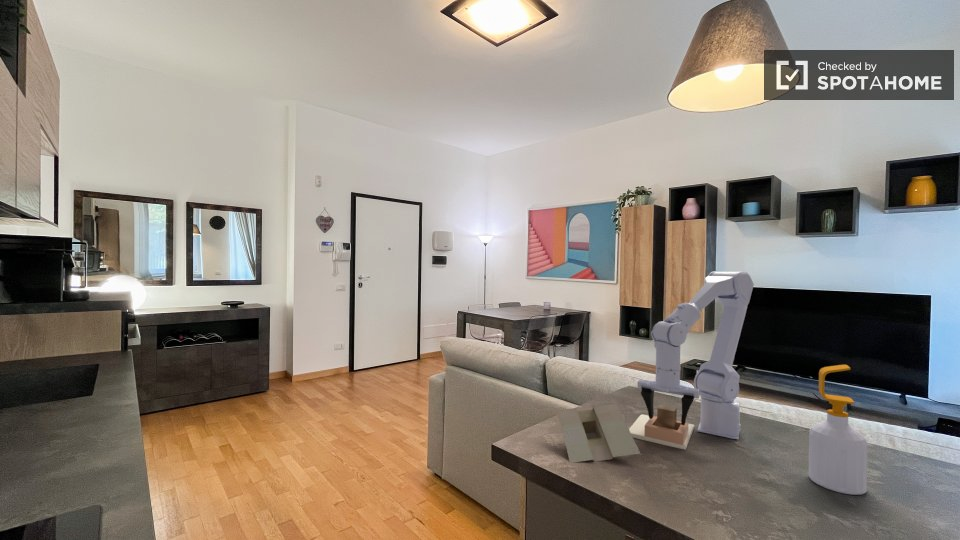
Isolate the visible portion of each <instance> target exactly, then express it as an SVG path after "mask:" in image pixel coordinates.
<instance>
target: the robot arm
mask: <svg viewBox="0 0 960 540" xmlns="http://www.w3.org/2000/svg"><path fill="white" fill-rule="evenodd" d="M703 283H704V284H703V285H702V286H701V287H700V289H699V290H698V291H697V292H696V293H695V295H694V296H692V299H690V301H689V302H682V303H679V304H678V305H677V307H676V308H675V309H674V310H673V311H672V312H671V313H670V314H669V315H668V316H666V318H665V319H664V320H663V321H662V320H661V321H658V322H657V323H655V324H654V326H653V327H652V331H651V332H650V336H651V339H652V340H653V343H654V348H655V381H652V380H644V379H643V380H640V379H639V380H638V381H637V382H636V383H637V387H636V389H639V390H641V391H640V395H641V397H642V399H643V401H644V402H645V403H644V404H645V406H646V409H647V415H648V416H649V418H650V419H652V418H653V416H655V415H654V414H655V413H654V399H655V398H654V396H655V392H661V393H666V394H672V395H678V396H682V397H681V420H680V421H681V425H685V422H687V421H686V420H687V417H688V413H689V409H690V407H691V405H692V404H693V402H694V400H695V399H700V419H699V420H700V421H699V423H698V427H697V432H700V433H703V434H704V433H705V434H708V435H714V436H719V437H724V438H727V439H728V438H729V439H732V440H733V439H734V440H740V439H739V437H740V431H741V429H742V428H741V427H742V426H741V425H742V424H741V423H740V413H741V411H740V408H741V404H740V402H739V401H735V400H736V399H737V397H738V396H739V392H740V384H739V383H740V377H741V376H740V374H739V373H738V372H737V371H736V370H735V369H734V367H733V364H734V361H735V355H736V352H737V348H738V344H739V340H740V337H741V332H742V329H743V325H744V321H745V317H746V314H747V309H748V305H749V304H750V300H751V296H752V292H753V289H754V285H755V283H754V282H753V279H752V278H751V275H750V274H749V273H748V272H747V271H742V270H741V271H717V270H715V271H711V272H709V273H708V275H707V276H706V277H705V278H704V282H703ZM715 299H716V301H718V302H719V303H721V305H722V307H723V310H722V314H721V316H720V322H719V325H718V329H717V333H716V336H715V340H714V343H713V347H712V351H711V353H710V354H711V355H710V358H709V360H707V361H706V362H704V363H702V364H700V367H699V370H698V371H697V372H696V374H695V376H694V379H693V386H694V388H693V387H689V386H685V385H681V383H680V382H681V346H682V344H685V342H686V339H687V336H688V333H689V330H690V329H691V328H692V327H693V326H694V325H695V324H696V323H697V322H698V321H699V320H700V318H701V311H703V310H704V309H705V308H706V307H707V306H709V305H710V304H711V303H712V302H713V301H714V300H715Z"/></svg>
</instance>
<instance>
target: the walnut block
mask: <svg viewBox="0 0 960 540" xmlns="http://www.w3.org/2000/svg"><path fill="white" fill-rule="evenodd" d="M677 410H678V408H677V406H671V405H666V404H659V405H658V406H657V411H656V413H657V414H656V416H657V426H660V427H664V428H669V429H674V430H676V427H677V421H678V419H677V418H678V417H677V415H678V414H677V413H678V411H677Z"/></svg>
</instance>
